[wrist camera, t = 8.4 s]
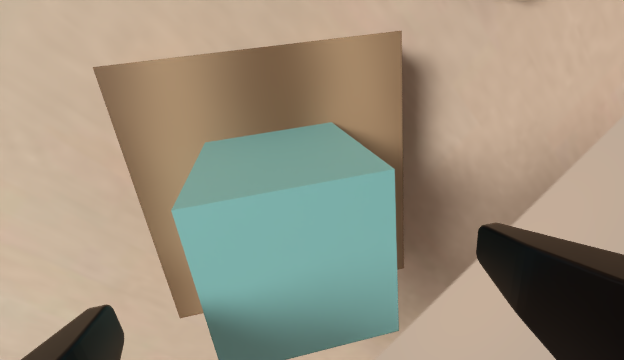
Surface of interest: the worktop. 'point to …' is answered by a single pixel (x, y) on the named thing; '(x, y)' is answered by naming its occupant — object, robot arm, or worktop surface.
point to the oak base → (247, 118)
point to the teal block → (291, 242)
